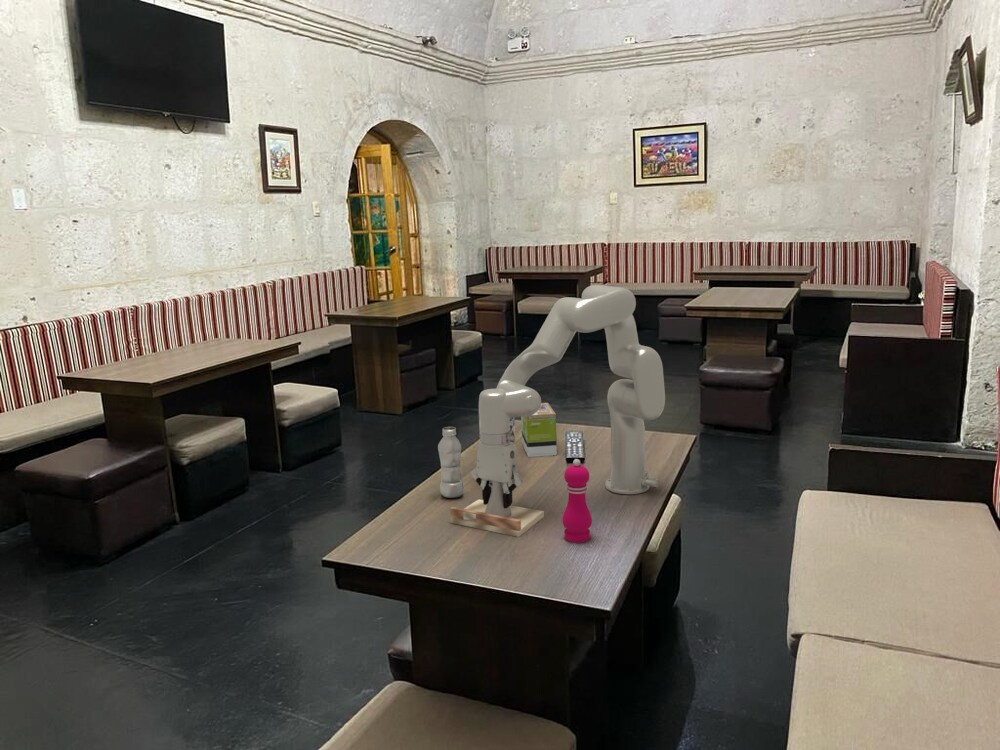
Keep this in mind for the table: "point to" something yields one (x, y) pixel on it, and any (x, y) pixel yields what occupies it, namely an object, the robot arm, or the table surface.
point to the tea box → (540, 432)
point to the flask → (497, 501)
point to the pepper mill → (576, 504)
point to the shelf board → (496, 518)
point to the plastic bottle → (450, 464)
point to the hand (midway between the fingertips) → (497, 503)
